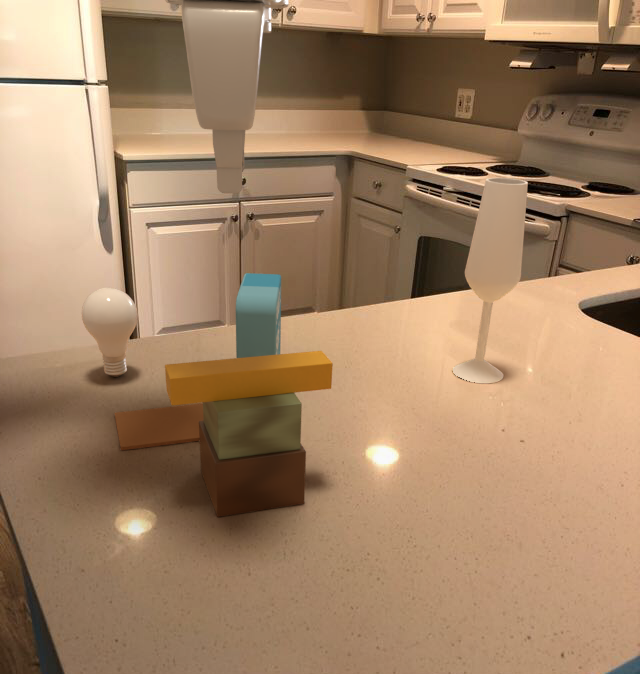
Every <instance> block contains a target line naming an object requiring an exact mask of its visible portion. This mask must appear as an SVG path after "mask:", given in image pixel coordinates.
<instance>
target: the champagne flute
mask: <svg viewBox="0 0 640 674" xmlns="http://www.w3.org/2000/svg"><path fill="white" fill-rule="evenodd" d="M528 185H529V182H528V181H527V180H523V179H517V178H510V177H489V178H488V177H487V178H486V179H485V183H484V186H483V191H482V194H481V199H480V204H479V209H478V211H477V216H476V221H475V225H474V230H473V234H472V238H471V242H470V247H469V252H468V256H467V260H466V263H465V264H466V265H465V269H464V277H465V279H466V282H467V284H468V285H469V288H470V289H471V290H472V291H473V292H474V293H475V295H476V296H477V297H478V298H479V299H480V300H481V301H483V303H482V309H481V315H480V322H479V329H478V336H477V343H476V348H475V354H474V355H475V356H474V358H473V359H470V360H467V361H465V362H462V363H459V364H456V365H454V366H455V367H454V366H453V367H452V368H453V373H454V374H455V375H456V376H455V375H454V374H453V373H452V374H453V375H454V376H455V377H457V376H458V377H460V378H462V379H461V380H463V379H464V380H463V381H466V380H467V381H466V382H469V381H470V382H469V383H474V382H475V384H494V383H498V382H500V381H502V380H503V379H504V373H503V372H502V371H501V370H500V369H498V368H497V367H496V366H494V365H493V364H491V363H490V362H489V361H487V360H485V358H486V357H485V356H486V350H487V344H488V338H489V331H490V325H491V318H492V311H493V306H494V303H495V302H496V301H499V300H501V299H502V298H503V297H505V296H506V295H508V294H509V293H511V291H513V289H515V287H517V285H518V284H519V283H520V281H521V278H522V265H523V263H522V262H523V252H524V237H525V225H526V213H527V212H526V210H527V199H528V198H527V197H528ZM458 377H457V378H458ZM460 378H459V379H460Z"/></svg>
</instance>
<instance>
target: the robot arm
mask: <svg viewBox="0 0 640 674" xmlns="http://www.w3.org/2000/svg"><path fill="white" fill-rule="evenodd" d="M164 1H165V2H166V3H167V4H171V5H179V6H181V20H182V27H183V35H184V43H185V50H186V58H187V65H188V72H189V79H190V86H191V94H192V99H193V105H194V109H195V114H196V118H197V122H198V124H199V127H200V128H201V129H203V130H211V131H212V149H213V153H214V154H213V155H214V160H215V167H216V180H217V181H216V183H217V184H216V186H217V191H219V192H220V193H221V194H240V192H242V189H243V172H244V170H245V145H246V144H245V142H246V131H249V130H251V129H252V127H253V125H254V122H255V117H256V116H255V115H256V107H257V99H258V89H259V79H260V69H261V68H260V67H261V57H262V46H263V35H264V34H271V33H272V22H271V21H272V10H275V9H279V10H280V9H287V8H288V7H289V5H290V4H289V2H290V0H164Z"/></svg>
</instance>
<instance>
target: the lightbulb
mask: <svg viewBox="0 0 640 674" xmlns="http://www.w3.org/2000/svg"><path fill="white" fill-rule="evenodd" d="M138 315H139V314H138V309H137V305H136V303H135V301H134V300H133V299H132V298H131V297H130V295H129V294H127V293H126V292H124V291H123V290H121V289H119V288H114V287H102V288H98V289H96V290H94V291H92V292H91V293H90V294H89V295H88V296H87V297H86V298H85V300H84V302H83V304H82V307H81V321H82V324H83V325H84V328H85V329H86V331H87V332H88V333H89V334H90V335H91V336H92V338H93V339H94V340H95V342H96V344H97V348H98V349H99V350H98V351H100V353H101V355H102V363H103V367H104V368H103V370H104V371H103V372H104V373H105V374H106V375H108V376H111V377H113V378H118V377H120V376H122V375H124V374H125V373H126V372H127V371H128V368H127V358H126V352H127V349H128V346H129V345H128V343H129V339H130V337H131V335H132V333H134V330H135V328H136V326H137V323H138Z"/></svg>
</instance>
